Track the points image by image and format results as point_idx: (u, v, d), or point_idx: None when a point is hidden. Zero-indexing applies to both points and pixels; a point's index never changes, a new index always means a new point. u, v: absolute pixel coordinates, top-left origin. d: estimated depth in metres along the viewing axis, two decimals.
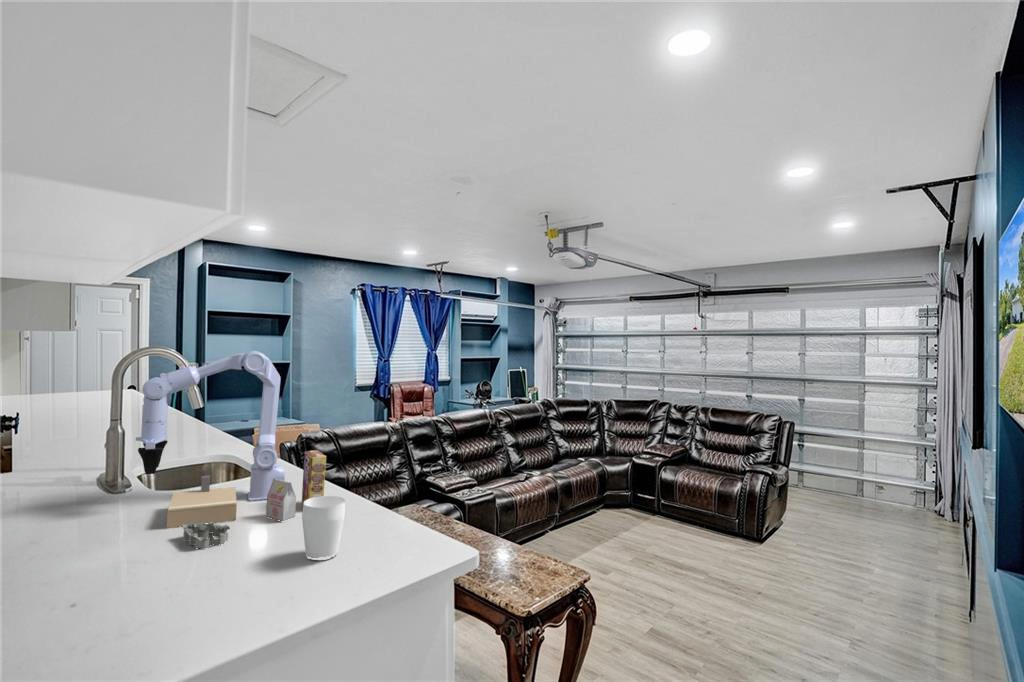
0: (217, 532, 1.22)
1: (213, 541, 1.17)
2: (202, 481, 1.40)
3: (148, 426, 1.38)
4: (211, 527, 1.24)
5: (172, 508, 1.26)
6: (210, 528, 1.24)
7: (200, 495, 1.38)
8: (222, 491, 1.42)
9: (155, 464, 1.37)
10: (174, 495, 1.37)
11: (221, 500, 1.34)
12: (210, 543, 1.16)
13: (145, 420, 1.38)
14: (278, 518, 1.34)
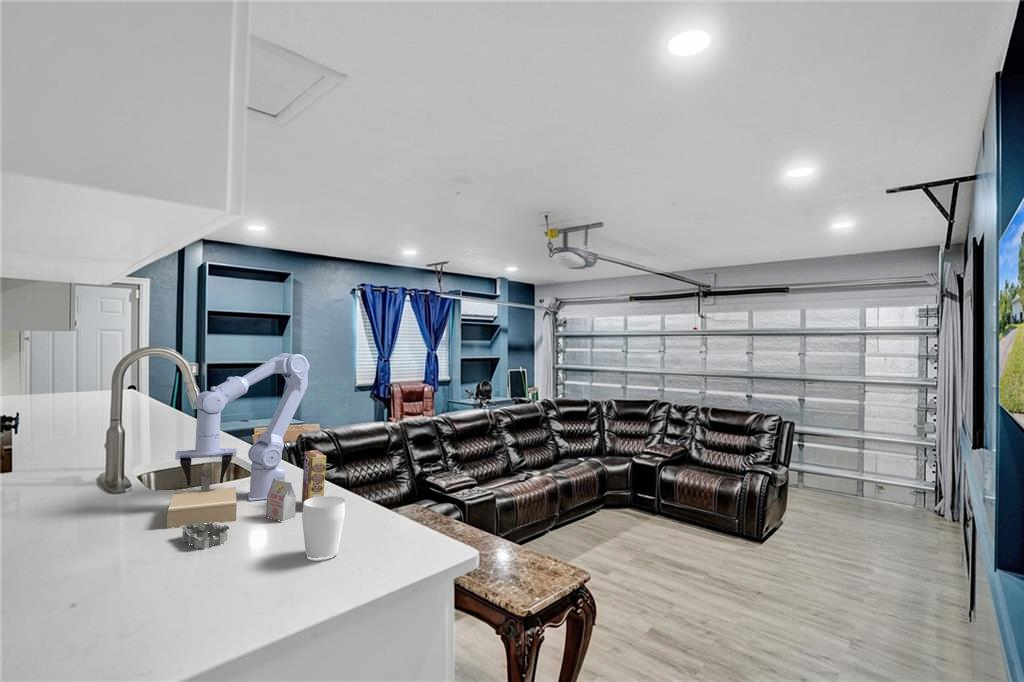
0: (216, 532, 1.22)
1: (213, 541, 1.17)
2: (202, 481, 1.40)
3: None
4: (210, 527, 1.24)
5: (172, 508, 1.26)
6: (209, 528, 1.24)
7: (200, 495, 1.38)
8: (222, 491, 1.42)
9: None
10: (174, 495, 1.37)
11: (221, 500, 1.34)
12: (210, 543, 1.16)
13: (203, 434, 1.39)
14: (278, 518, 1.34)
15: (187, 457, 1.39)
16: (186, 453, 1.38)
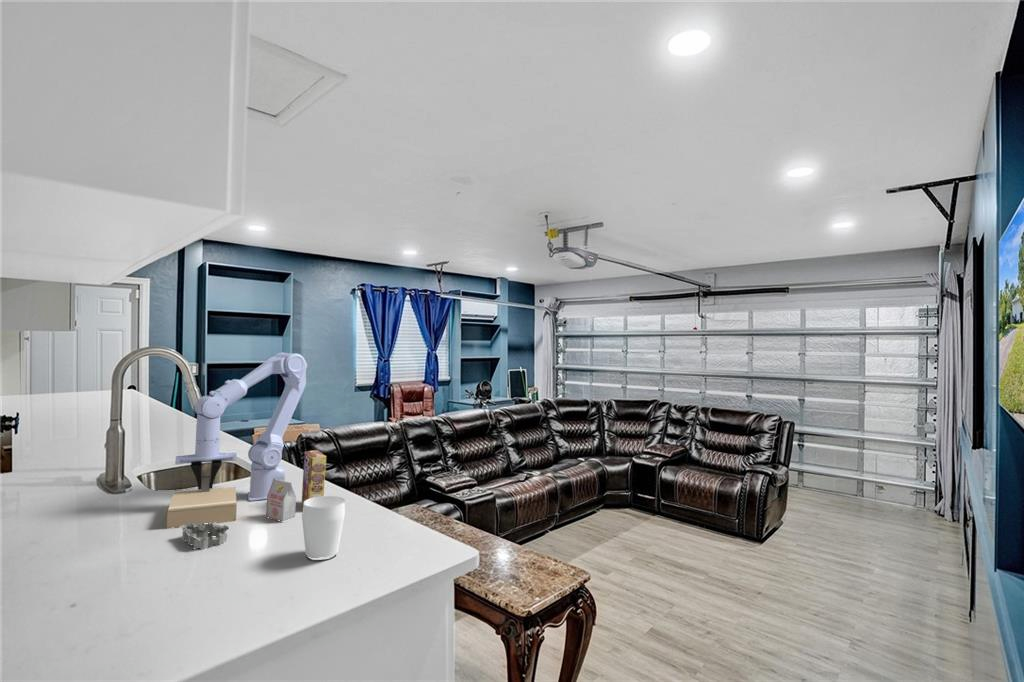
0: (216, 532, 1.21)
1: (212, 541, 1.17)
2: (202, 481, 1.40)
3: None
4: (210, 527, 1.24)
5: (172, 508, 1.26)
6: (209, 528, 1.24)
7: (200, 495, 1.38)
8: (222, 491, 1.42)
9: None
10: (174, 495, 1.37)
11: (221, 500, 1.34)
12: (209, 543, 1.16)
13: (203, 439, 1.39)
14: (278, 518, 1.34)
15: (187, 461, 1.39)
16: (186, 458, 1.38)
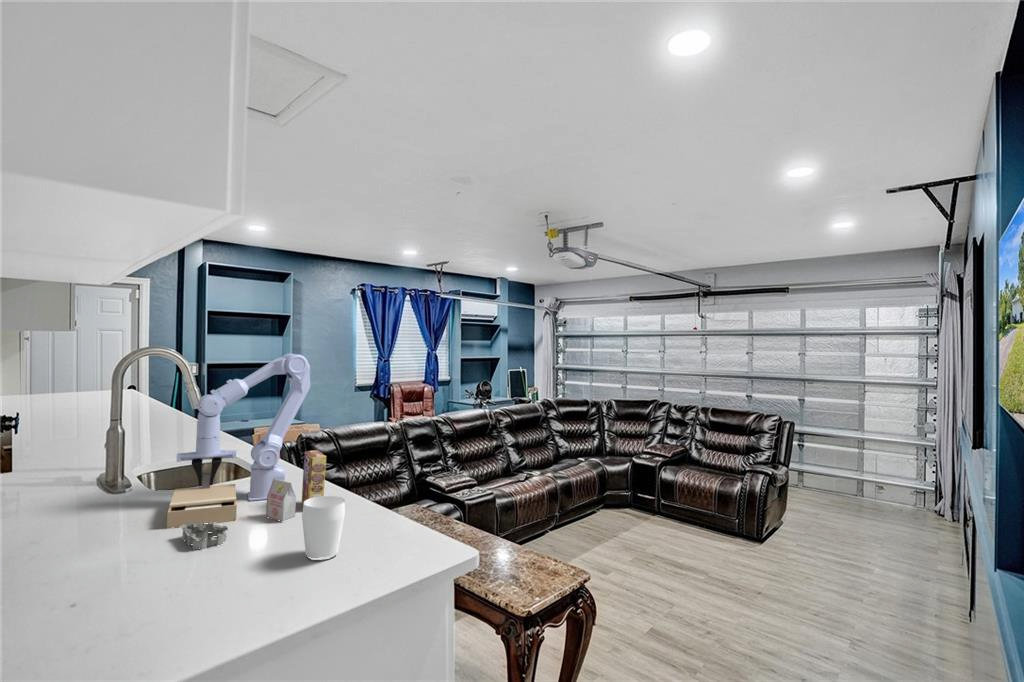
0: (216, 532, 1.21)
1: (211, 542, 1.16)
2: (203, 478, 1.44)
3: None
4: (211, 527, 1.24)
5: (173, 504, 1.29)
6: (210, 528, 1.23)
7: (201, 491, 1.41)
8: (222, 488, 1.45)
9: None
10: (175, 491, 1.40)
11: (221, 496, 1.37)
12: (208, 544, 1.16)
13: (201, 436, 1.42)
14: (278, 518, 1.34)
15: (188, 459, 1.42)
16: (187, 455, 1.41)
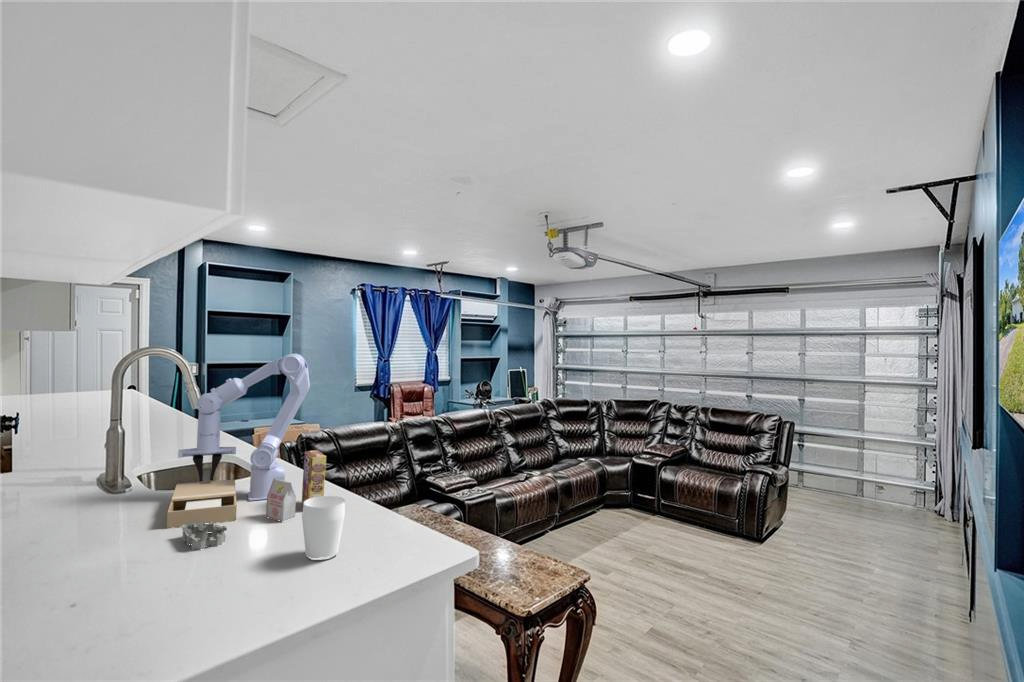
0: (216, 533, 1.21)
1: (210, 542, 1.16)
2: (203, 473, 1.48)
3: None
4: (211, 527, 1.23)
5: (175, 498, 1.34)
6: (210, 528, 1.23)
7: (201, 486, 1.45)
8: (222, 483, 1.50)
9: None
10: (177, 486, 1.44)
11: (221, 491, 1.42)
12: (207, 544, 1.16)
13: (199, 433, 1.47)
14: (278, 518, 1.34)
15: (189, 455, 1.47)
16: (188, 451, 1.46)
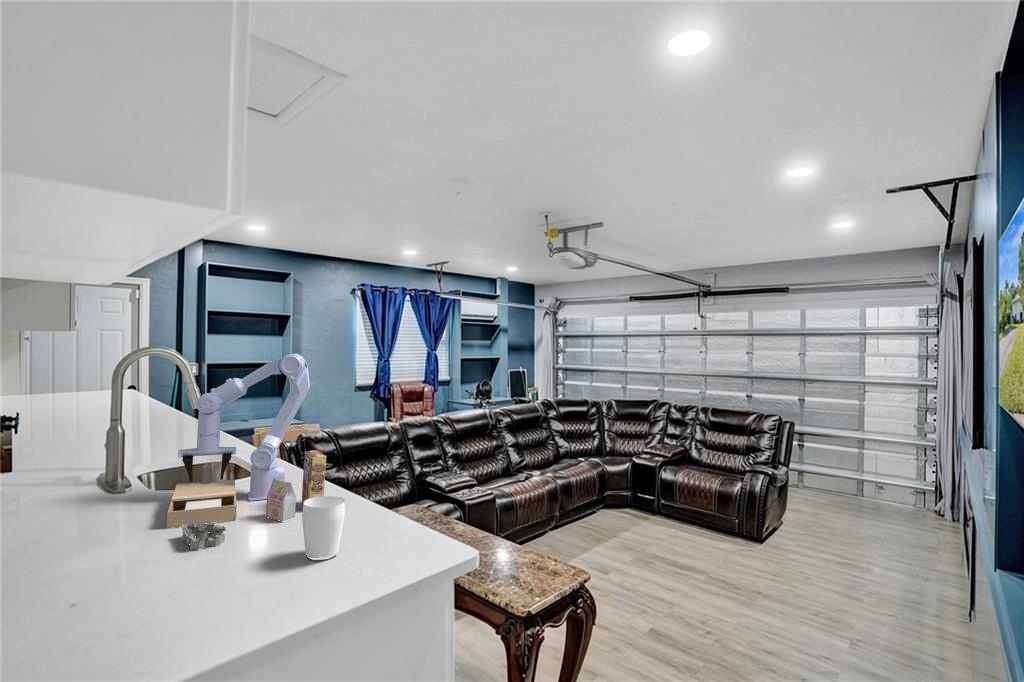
0: (216, 533, 1.21)
1: (209, 542, 1.16)
2: (203, 473, 1.48)
3: None
4: (211, 527, 1.23)
5: (175, 498, 1.34)
6: (210, 528, 1.23)
7: (201, 486, 1.45)
8: (222, 483, 1.50)
9: None
10: (177, 486, 1.44)
11: (221, 491, 1.42)
12: (206, 544, 1.15)
13: (199, 433, 1.47)
14: (278, 518, 1.34)
15: (189, 455, 1.47)
16: (188, 451, 1.46)
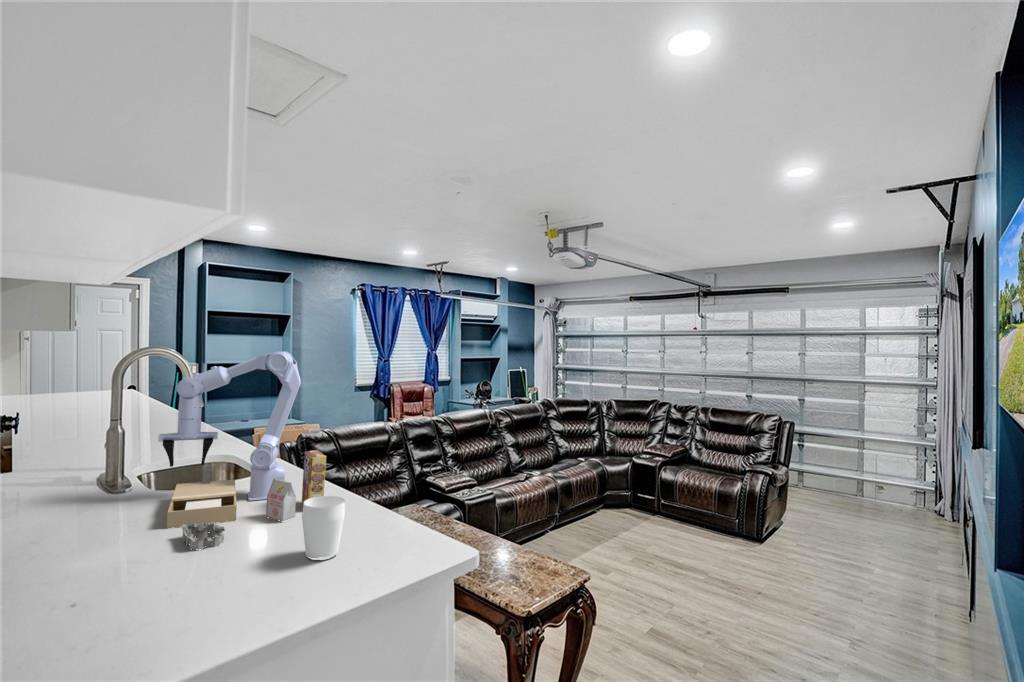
0: (216, 533, 1.21)
1: (208, 542, 1.16)
2: (203, 473, 1.48)
3: None
4: (211, 528, 1.23)
5: (175, 498, 1.34)
6: (211, 528, 1.23)
7: (201, 486, 1.45)
8: (222, 483, 1.50)
9: None
10: (177, 486, 1.44)
11: (221, 491, 1.42)
12: (205, 544, 1.15)
13: (180, 417, 1.46)
14: (278, 518, 1.34)
15: (170, 439, 1.46)
16: (168, 435, 1.45)
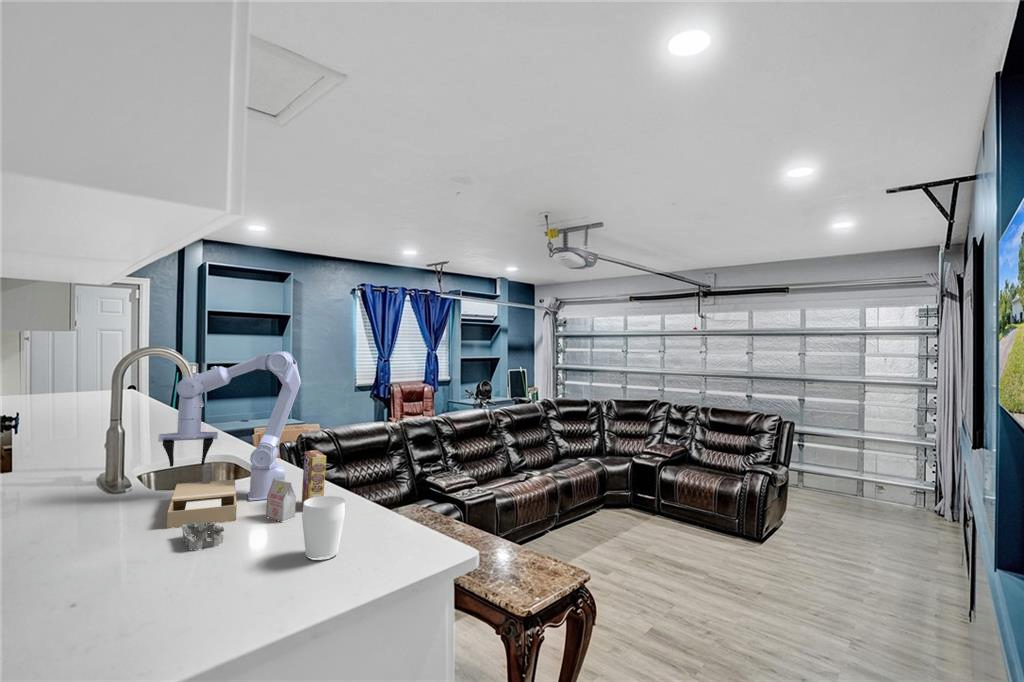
0: (215, 533, 1.21)
1: (207, 543, 1.16)
2: (203, 473, 1.48)
3: None
4: (212, 528, 1.23)
5: (175, 498, 1.34)
6: (211, 529, 1.23)
7: (201, 486, 1.45)
8: (222, 483, 1.50)
9: None
10: (177, 486, 1.44)
11: (221, 491, 1.42)
12: (204, 544, 1.15)
13: (180, 417, 1.46)
14: (278, 518, 1.34)
15: (170, 439, 1.46)
16: (168, 435, 1.45)
